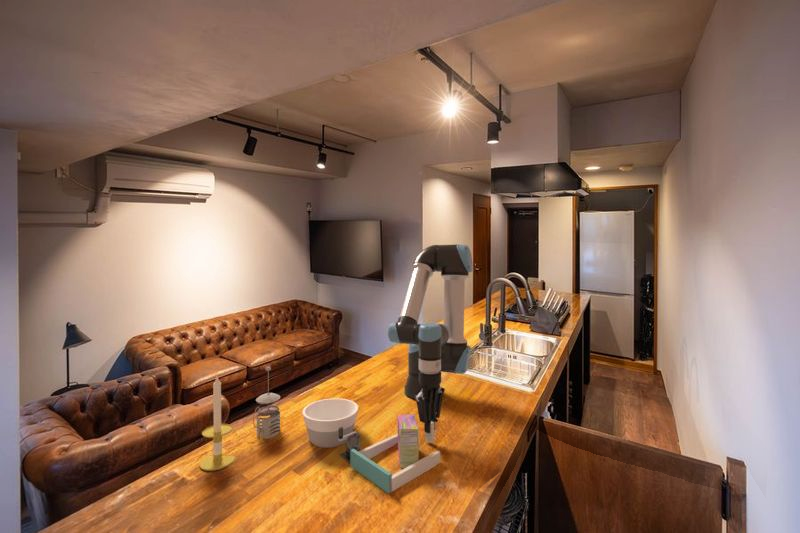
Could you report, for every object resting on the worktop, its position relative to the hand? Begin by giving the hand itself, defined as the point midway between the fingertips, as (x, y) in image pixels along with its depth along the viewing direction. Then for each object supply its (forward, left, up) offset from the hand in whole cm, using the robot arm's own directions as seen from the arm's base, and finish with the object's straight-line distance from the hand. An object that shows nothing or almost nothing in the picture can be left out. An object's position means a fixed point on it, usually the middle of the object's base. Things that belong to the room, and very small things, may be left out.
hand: (429, 440), depth 120 cm
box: (0, -10, -2) cm, 11 cm away
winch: (-13, -22, -2) cm, 26 cm away
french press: (-43, -37, -2) cm, 57 cm away
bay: (0, -15, -2) cm, 15 cm away
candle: (-39, -54, -2) cm, 67 cm away
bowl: (-27, -21, -2) cm, 35 cm away
